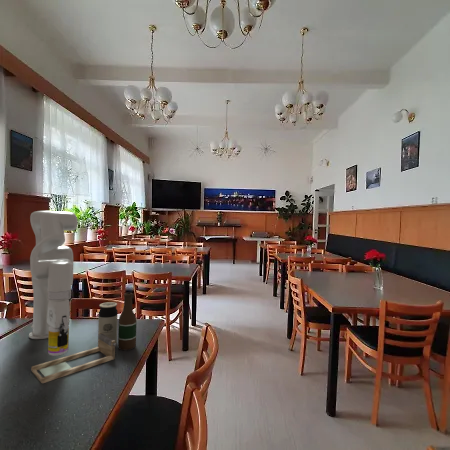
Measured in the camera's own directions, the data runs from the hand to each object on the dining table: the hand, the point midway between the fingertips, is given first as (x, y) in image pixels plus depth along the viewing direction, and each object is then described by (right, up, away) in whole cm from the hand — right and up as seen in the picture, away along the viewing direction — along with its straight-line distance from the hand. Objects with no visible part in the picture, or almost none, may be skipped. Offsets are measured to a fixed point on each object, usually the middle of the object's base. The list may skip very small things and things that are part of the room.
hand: (58, 342), depth 110 cm
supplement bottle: (0, -4, 0) cm, 4 cm away
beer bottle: (+18, -11, +22) cm, 30 cm away
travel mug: (+8, -11, +25) cm, 28 cm away
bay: (+4, -10, +5) cm, 12 cm away
